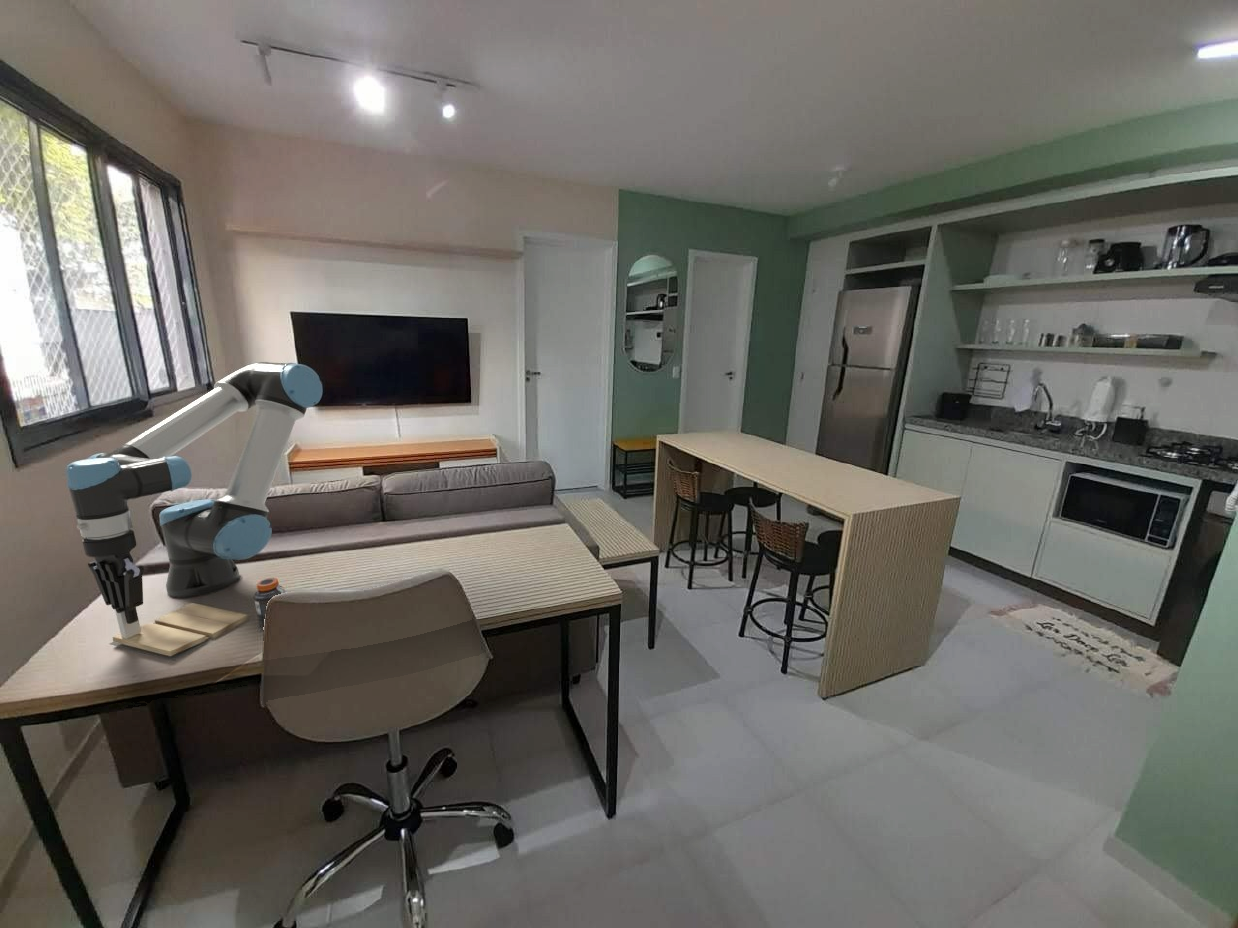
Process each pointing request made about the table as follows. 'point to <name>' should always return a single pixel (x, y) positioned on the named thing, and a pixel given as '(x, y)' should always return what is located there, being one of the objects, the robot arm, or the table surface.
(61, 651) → the table surface
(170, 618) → the floor board
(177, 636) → the board
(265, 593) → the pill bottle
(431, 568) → the table surface
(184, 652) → the underlay mat
